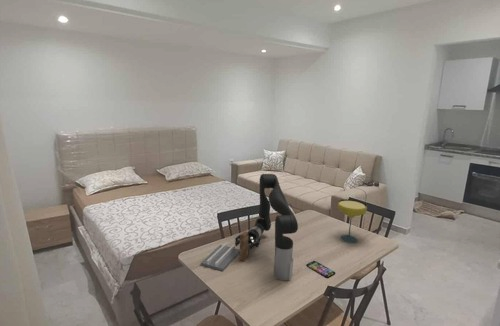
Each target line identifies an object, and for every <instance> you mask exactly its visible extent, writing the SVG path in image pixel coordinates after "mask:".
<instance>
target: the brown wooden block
mask: <svg viewBox="0 0 500 326" xmlns="http://www.w3.org/2000/svg"><path fill="white" fill-rule="evenodd" d="M239 235H240V243H239V250H240V253H239V261H241V262H246V260H247V259H248V258H249V244H248V231H242V232H241V233H239Z"/></svg>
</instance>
